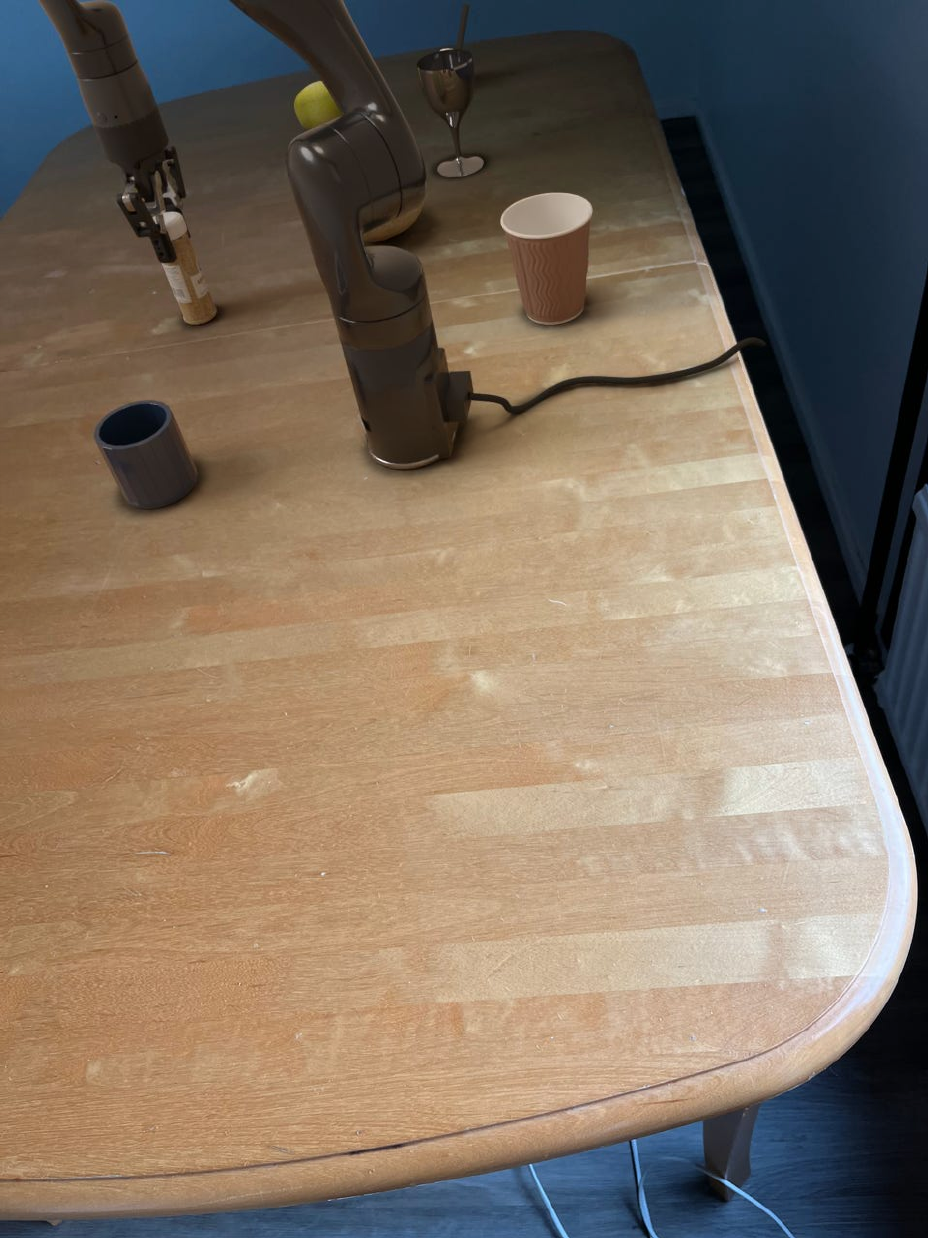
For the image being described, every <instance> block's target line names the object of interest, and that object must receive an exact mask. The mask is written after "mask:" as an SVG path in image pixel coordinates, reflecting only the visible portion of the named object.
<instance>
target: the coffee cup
mask: <svg viewBox="0 0 928 1238" xmlns="http://www.w3.org/2000/svg"><path fill="white" fill-rule="evenodd" d="M592 215H593V206H592V204H591V203H590V201H589V200H588V199H586V198H585V197H582V196H581V195H578V194H573V193H569V192H547V193H540V194H535V195H531V196H529V197H525V198H522V199H520V200H517V201H516V202H514V203H513V204H511V205H509V206H508V207H507V208H506V209H504V211H503V212H502V214H501V217H500V221H499V223H500V225H501V227H502V230H504V234H505V237H506V242H507V246H508V249H509V255H510V258H511V262H512V266H513V270H514V274H515V278H516V283H517V286H518V291H519V294H520V298H521V299H520V300H521V302H522V306H523V309H524V311H525V314H526V316H527V318H529V320H531V321H532V322H534V323H536V324H540V325H544V326H554V325H555V326H556V325H561V324H565V323H569V322H571V321H574V320H575V319H576V318H578V317H579V315H581V313H583V311H584V309H585V308H584V306H585V301H586V295H587V279H588V278H587V277H588V276H587V275H588V271H589V258H590V257H589V256H590V255H589V254H590V253H589V246H590V245H589V242H590V226H591V225H590V224H591V218H592Z"/></svg>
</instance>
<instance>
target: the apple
mask: <svg viewBox="0 0 928 1238" xmlns="http://www.w3.org/2000/svg"><path fill="white" fill-rule="evenodd" d="M293 109H294V113H295V116H296V117H297V120H298V122H299V124H300V125H301V127H302V128H303V129H305V130H306V131H308V130H310V129H313V128H315V127H317V126H320V125H322V124H324V123H327V122H329V121H331V120H334V119H336V118H338V117H340V116H342V114H341V112H340V110H339V109H338V107H337V105H336V103H335V102H334V100H333V98H332V97H331V95H330V93H329V92H328V90H327V89H326V87H325V86H324V84H323V83H322V81H321V80H317V81H315V82H312V83H310V84H308V85H307V86H305V87H304V88H303V89H302V90H300V91H299V93H297V95H296V96H295V99H294V101H293Z"/></svg>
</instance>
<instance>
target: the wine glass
mask: <svg viewBox="0 0 928 1238" xmlns="http://www.w3.org/2000/svg"><path fill="white" fill-rule="evenodd" d="M441 50H442V49H441ZM416 71H417V76H418V80H419V86H420V89H421V92H422V95H423V97H424V99H425V102H426V104H427V106H428V107H429V109H431V111H432V112H433V113H434V114H435V115H437V116H438V117H439V118H440V119H441V120H443V122H444V123H445V124H446V125H447V127H448V128H449V130H450V133H451V137H452V141H453V144H454V150H455V157H451V158H448V159H446V160H444V161H442V162H441V163H440V164H439V165H438V166H437V169H436V171H437V173H438V174H439V175H440V176H442V177H446V178H461V177H466V176H470V175H472V174H474V173H477V172H478V171H479V170H481V169H482V168H483V166H485V165H484V164H485V161H484V160H483V159H482V158H481V157H479V156H477V155H470V154H469V155H462V151H461V141H460V128H461V127H460V126H461V123H462V120H463V117H464V116H465V114H466V112H467V111H468V109H469V107H470V106H471V104H472V101H473V100H474V94H475V66H474V58H473V54H472V52H471V51H470V50H468V49H463V48H462V49H456V48H449V50H442V51H440V50H438V51H434V52H431V53H429V54H426V55H425V56H422V57H421V58H420V59H419V60H418V61H417V62H416Z"/></svg>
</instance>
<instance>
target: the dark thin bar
mask: <svg viewBox="0 0 928 1238" xmlns="http://www.w3.org/2000/svg"><path fill="white" fill-rule="evenodd" d="M469 10H470V4H469V3H468V2H467V1H465V2H463V4H462V8H461V16H460V21H459V28H458V33H457V39H456V44H455V49H463V45H464V39H465V35H466V34H465V33H466V28H467V21H468V17H469ZM449 49H450V48H447V47H446V48H441V49H440V50H439V51H442V50H449Z"/></svg>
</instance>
